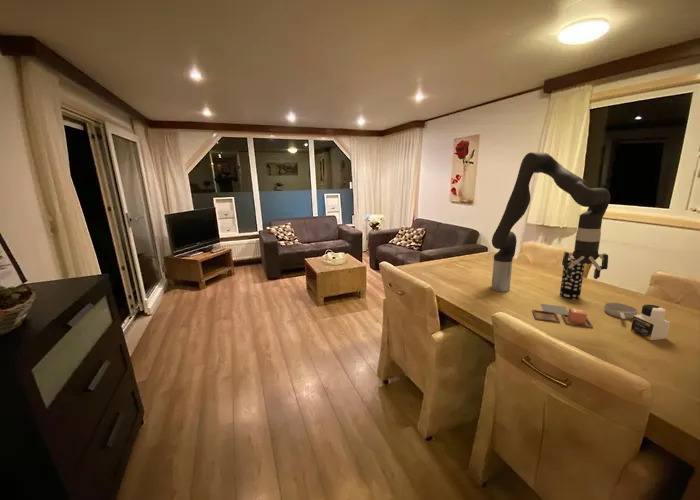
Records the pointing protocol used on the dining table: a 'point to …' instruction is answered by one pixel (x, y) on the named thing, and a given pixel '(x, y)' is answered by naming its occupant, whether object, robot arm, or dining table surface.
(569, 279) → the white-spotted black cylinder
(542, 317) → the tray
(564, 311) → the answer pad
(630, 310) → the saucepan
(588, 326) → the tray
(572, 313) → the letter block
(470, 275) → the dining table surface
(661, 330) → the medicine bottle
